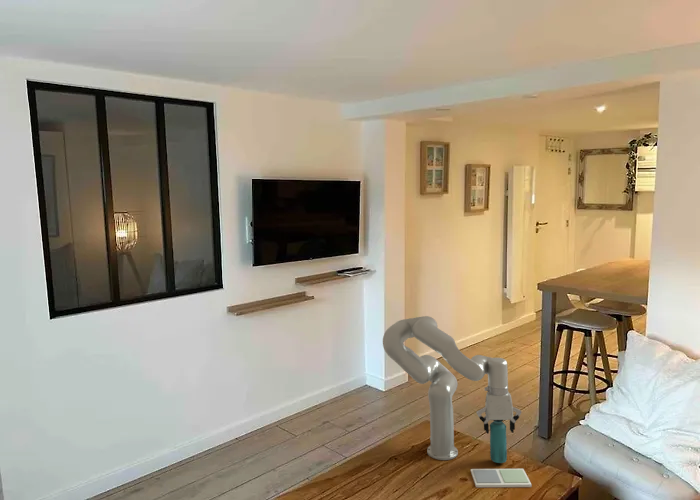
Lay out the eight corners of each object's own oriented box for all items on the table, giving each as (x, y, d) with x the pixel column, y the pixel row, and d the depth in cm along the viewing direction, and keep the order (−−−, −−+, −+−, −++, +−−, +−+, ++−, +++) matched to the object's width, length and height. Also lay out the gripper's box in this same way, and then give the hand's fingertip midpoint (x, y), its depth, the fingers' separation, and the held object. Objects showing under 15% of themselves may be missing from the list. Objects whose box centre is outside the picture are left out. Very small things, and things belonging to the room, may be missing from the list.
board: (476, 487, 190) (476, 484, 190) (470, 471, 201) (470, 468, 201) (531, 487, 189) (531, 483, 189) (523, 471, 200) (523, 467, 200)
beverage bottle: (507, 467, 203) (507, 418, 201) (490, 466, 204) (489, 417, 202) (506, 459, 209) (506, 411, 207) (489, 458, 210) (488, 410, 208)
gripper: (477, 394, 200) (479, 436, 202) (523, 392, 199) (524, 435, 201) (474, 387, 208) (475, 428, 209) (517, 385, 207) (519, 426, 208)
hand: (499, 431), depth 205 cm, fingers open, 9 cm apart
